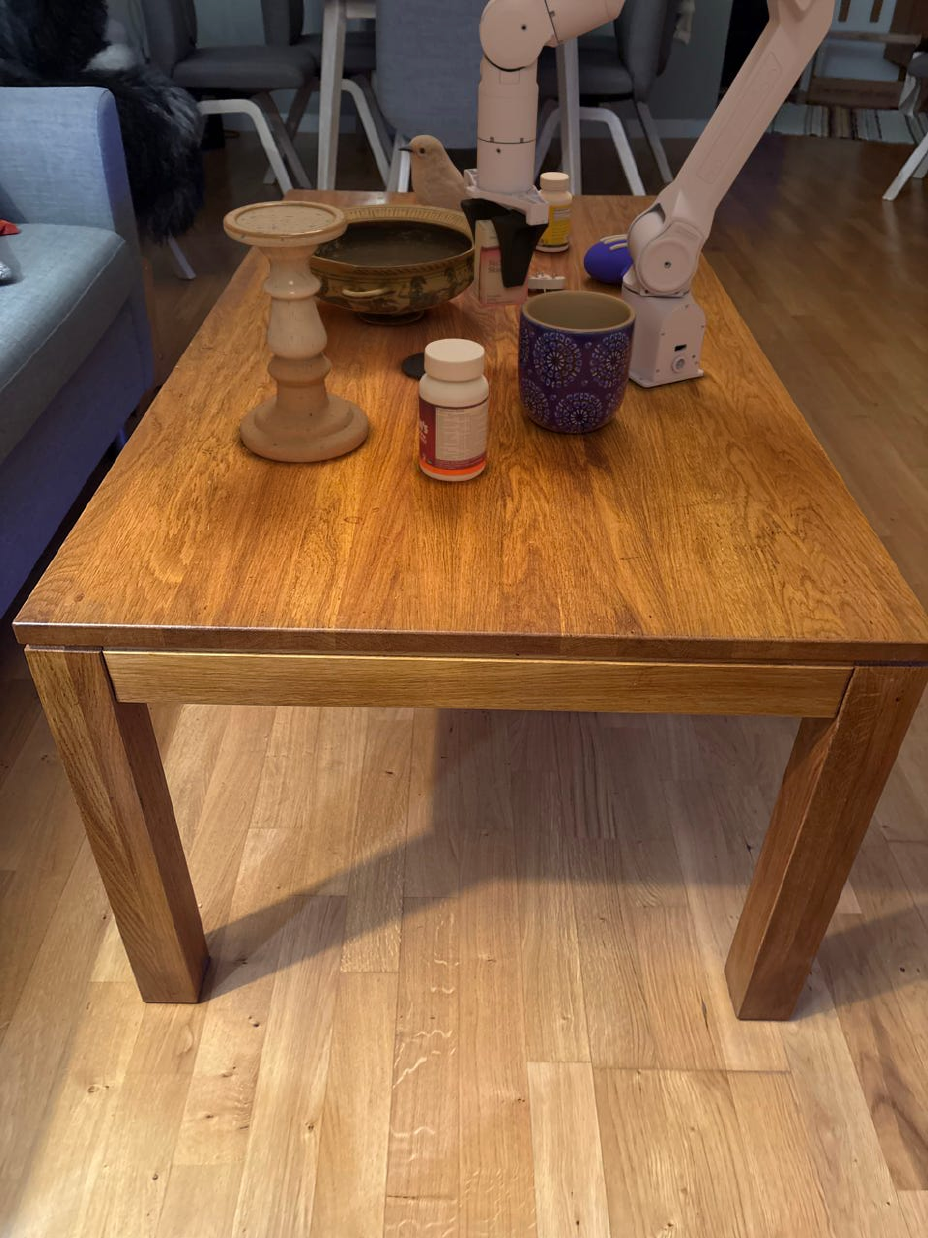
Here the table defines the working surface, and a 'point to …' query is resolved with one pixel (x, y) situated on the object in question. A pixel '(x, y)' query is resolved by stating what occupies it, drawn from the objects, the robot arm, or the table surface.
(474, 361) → the pill bottle
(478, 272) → the small box
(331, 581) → the table surface
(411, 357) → the slate coaster
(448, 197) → the bird
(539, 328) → the planter
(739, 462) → the table surface
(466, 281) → the ceramic bowl
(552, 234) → the supplement bottle
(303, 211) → the candle holder
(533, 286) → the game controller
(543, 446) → the table surface
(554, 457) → the table surface
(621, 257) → the decorative object
